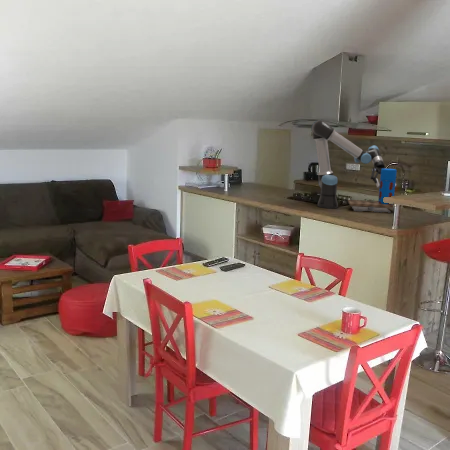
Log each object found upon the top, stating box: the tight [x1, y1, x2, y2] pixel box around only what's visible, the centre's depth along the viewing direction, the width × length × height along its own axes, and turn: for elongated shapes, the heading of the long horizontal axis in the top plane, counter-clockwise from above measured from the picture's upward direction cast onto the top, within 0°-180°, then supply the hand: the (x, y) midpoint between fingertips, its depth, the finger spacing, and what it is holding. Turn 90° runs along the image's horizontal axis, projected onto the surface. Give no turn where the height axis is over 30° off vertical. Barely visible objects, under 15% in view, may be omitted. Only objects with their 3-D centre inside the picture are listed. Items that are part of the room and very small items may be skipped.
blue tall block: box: [377, 168, 398, 204], centre depth 371 cm, size 11×11×25 cm
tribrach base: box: [351, 206, 392, 214], centre depth 375 cm, size 26×14×4 cm, turn 84°
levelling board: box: [347, 198, 394, 209], centre depth 374 cm, size 32×16×3 cm, turn 84°
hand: (386, 186), depth 371 cm, fingers open, 13 cm apart
